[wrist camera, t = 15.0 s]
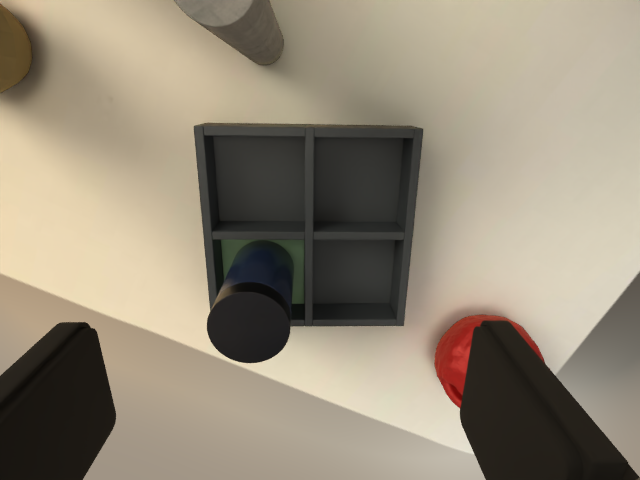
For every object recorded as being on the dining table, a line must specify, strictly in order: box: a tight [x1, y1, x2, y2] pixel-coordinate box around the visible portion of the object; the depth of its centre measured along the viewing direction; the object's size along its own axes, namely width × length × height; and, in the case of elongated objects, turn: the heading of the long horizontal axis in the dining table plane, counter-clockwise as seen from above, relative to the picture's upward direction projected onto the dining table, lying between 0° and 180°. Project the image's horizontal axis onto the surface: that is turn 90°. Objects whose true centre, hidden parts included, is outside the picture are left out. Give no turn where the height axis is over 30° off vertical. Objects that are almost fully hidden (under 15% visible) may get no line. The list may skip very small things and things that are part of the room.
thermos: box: [207, 240, 294, 363], centre depth 31 cm, size 6×6×10 cm
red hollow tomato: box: [434, 315, 550, 408], centre depth 36 cm, size 10×10×9 cm
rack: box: [194, 123, 423, 326], centre depth 34 cm, size 17×17×4 cm
